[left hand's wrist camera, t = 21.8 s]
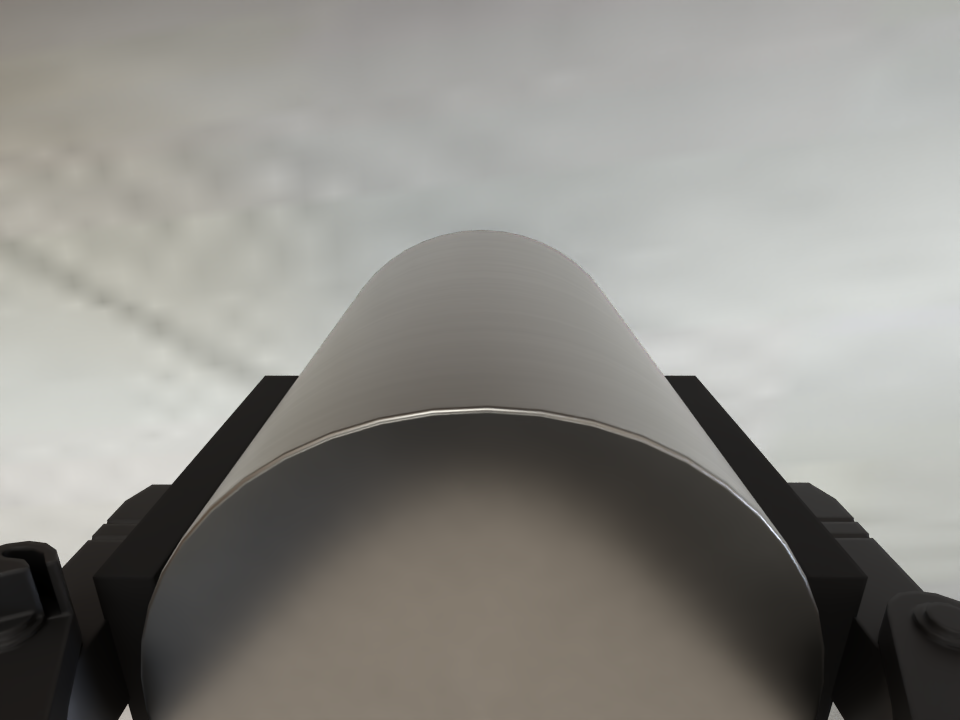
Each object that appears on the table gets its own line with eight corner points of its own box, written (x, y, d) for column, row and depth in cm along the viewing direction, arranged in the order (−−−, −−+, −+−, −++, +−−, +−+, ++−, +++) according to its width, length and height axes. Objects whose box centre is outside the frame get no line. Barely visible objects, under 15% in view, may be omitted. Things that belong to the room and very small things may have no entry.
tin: (283, 396, 18) (24, 753, 8) (454, 163, 15) (403, 237, 5) (502, 539, 19) (526, 982, 9) (684, 351, 17) (973, 670, 7)
